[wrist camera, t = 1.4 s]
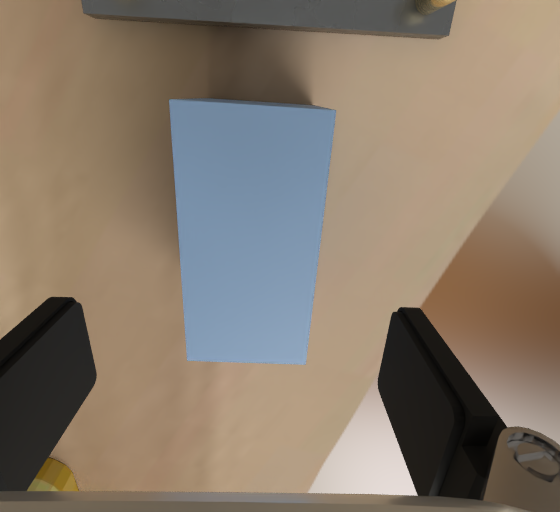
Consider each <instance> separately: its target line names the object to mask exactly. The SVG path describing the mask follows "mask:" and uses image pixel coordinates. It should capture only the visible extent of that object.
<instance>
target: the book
mask: <svg viewBox="0 0 560 512" xmlns="http://www.w3.org/2000/svg"><path fill="white" fill-rule="evenodd" d="M27 491H79V490H78V487H77V484H76V481H75V479H74V476H73V473H72V471H71V470H70V469H69V468H68V467H67V466H66V465H64V464H62V463H61V462H59V461H57V460H55V459H51V458H47V460H46V461H45V463H44V465H43V466H42V468H41V469H40V471H39V472H38V474H37V476H36V477H35V479H34V480H33V482H32V483H31V485H30V487H29V488H28V490H27Z"/></svg>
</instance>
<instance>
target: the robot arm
mask: <svg viewBox="0 0 560 512" xmlns="http://www.w3.org/2000/svg"><path fill="white" fill-rule="evenodd" d="M95 381H96V369H95V364H94V359H93V355H92V350H91V346H90V341H89V336H88V332H87V327H86V323H85V318H84V313H83V309H82V305H81V304H80V303H78V302H76V300H75V299H74V298H72V297H50V298H48V299H47V300H46V301H45V302H44V303H42V304H41V305H40V306H39V307H38V308H37V309H35V310H34V311H33V312H32V313H31V314H30V315H28V316H27V317H26V318H25V319H24V320H23V321H21V322H20V323H19V324H18V325H17V326H16V327H14V328H13V329H12V330H11V331H10V332H9V333H7V334H6V335H5V336H4V337H3V338H2V339H0V512H560V445H559V444H557V443H556V442H555V441H553V440H552V439H550V438H548V437H547V436H545V435H543V434H541V433H539V432H536V431H534V430H531V429H529V428H523V427H507V426H506V425H505V423H504V422H503V421H502V419H501V418H500V417H499V415H498V414H497V412H496V411H495V410H494V408H493V407H492V406H491V404H490V403H489V401H488V400H487V399H486V397H485V396H484V395H483V393H482V392H481V391H480V389H479V388H478V386H477V385H476V384H475V382H474V381H473V380H472V378H471V377H470V375H469V374H468V373H467V372H466V370H465V369H464V367H463V366H462V365H461V363H460V362H459V360H458V359H457V358H456V356H455V355H454V354H453V353H452V351H451V350H450V348H449V347H448V346H447V344H446V343H445V342H444V340H443V339H442V337H441V336H440V335H439V333H438V332H437V331H436V329H435V328H434V327H433V325H432V324H431V322H430V321H429V320H428V318H427V317H426V315H425V314H424V313H423V311H422V310H421V309H420V308H408V307H400V308H399V309H398V311H397V312H393V313H392V316H391V320H390V325H389V329H388V334H387V339H386V344H385V348H384V353H383V358H382V362H381V367H380V372H379V377H378V389H379V392H380V395H381V398H382V401H383V403H384V406H385V409H386V411H387V414H388V417H389V420H390V422H391V425H392V428H393V430H394V433H395V435H396V438H397V441H398V444H399V446H400V449H401V452H402V454H403V457H404V460H405V462H406V465H407V468H408V470H409V473H410V476H411V478H412V481H413V484H414V487H415V489H416V492H417V494H418V496H407V495H377V494H319V493H318V494H317V493H316V494H315V493H246V492H132V491H27V490H28V488H29V487H30V485H31V483H32V482H33V480H34V479H35V477H36V476H37V474H38V472H39V471H40V469H41V468H42V466H43V465H44V463H45V461H46V460H47V458H48V457H49V455H50V454H51V452H52V450H53V449H54V447H55V446H56V444H57V443H58V441H59V439H60V438H61V436H62V435H63V433H64V432H65V430H66V428H67V427H68V425H69V424H70V422H71V421H72V419H73V418H74V416H75V414H76V413H77V411H78V410H79V408H80V407H81V405H82V403H83V402H84V400H85V399H86V397H87V396H88V394H89V392H90V391H91V389H92V388H93V386H94V384H95Z"/></svg>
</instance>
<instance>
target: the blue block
mask: <svg viewBox="0 0 560 512" xmlns="http://www.w3.org/2000/svg"><path fill="white" fill-rule="evenodd" d="M169 105H170V120H171V134H172V149H173V163H174V177H175V192H176V206H177V221H178V235H179V249H180V264H181V278H182V293H183V307H184V322H185V336H186V350H187V361H212V362H242V363H272V364H303V365H306V357H307V349H308V340H309V332H310V324H311V315H312V307H313V299H314V291H315V282H316V274H317V266H318V257H319V249H320V241H321V232H322V224H323V216H324V208H325V199H326V191H327V183H328V174H329V166H330V158H331V149H332V141H333V133H334V125H335V116H336V110H332V109H328V108H323V107H319V106H314V105H302V104H287V103H272V102H257V101H242V100H227V99H212V98H195V99H169Z"/></svg>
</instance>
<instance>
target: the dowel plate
mask: <svg viewBox="0 0 560 512" xmlns="http://www.w3.org/2000/svg"><path fill="white" fill-rule="evenodd" d="M81 1H82V7H83V13H84V14H86V15H89V16H91V17H93V18H97V19H113V20H130V21H146V22H163V23H179V24H196V25H212V26H229V27H245V28H262V29H278V30H294V31H311V32H327V33H344V34H360V35H377V36H393V37H410V38H426V39H440V38H443V37H446V36H449V32H450V28H451V23H452V19H453V14H454V9H455V5H456V0H81Z"/></svg>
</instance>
